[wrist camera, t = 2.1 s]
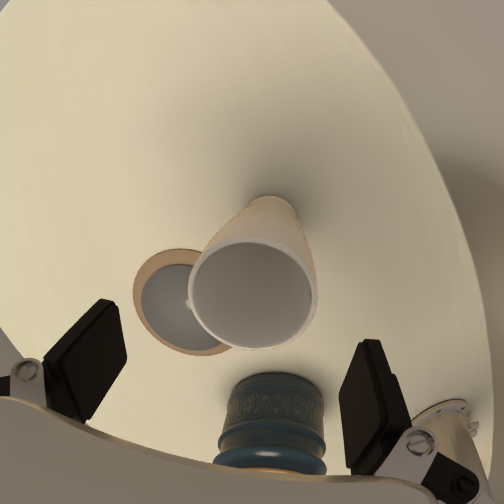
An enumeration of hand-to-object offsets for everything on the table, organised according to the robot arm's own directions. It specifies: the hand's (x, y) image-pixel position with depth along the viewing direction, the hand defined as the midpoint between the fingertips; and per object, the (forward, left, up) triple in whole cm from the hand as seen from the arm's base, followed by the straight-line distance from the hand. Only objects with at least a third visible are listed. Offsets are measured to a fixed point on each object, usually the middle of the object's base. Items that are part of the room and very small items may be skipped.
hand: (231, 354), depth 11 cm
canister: (-4, +25, -20) cm, 32 cm away
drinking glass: (0, 0, -20) cm, 20 cm away
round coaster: (+8, +11, -19) cm, 24 cm away
